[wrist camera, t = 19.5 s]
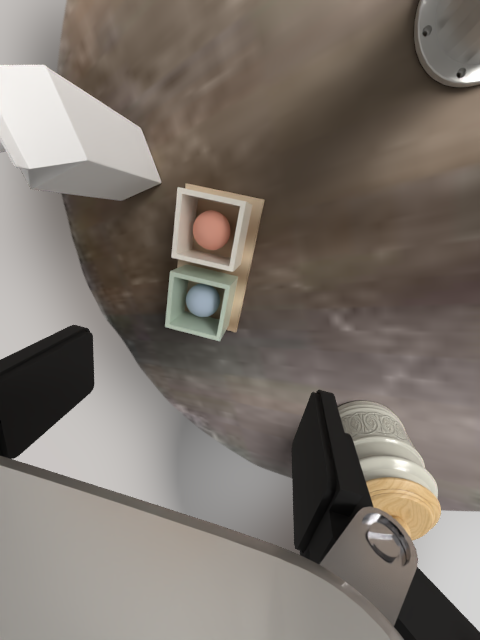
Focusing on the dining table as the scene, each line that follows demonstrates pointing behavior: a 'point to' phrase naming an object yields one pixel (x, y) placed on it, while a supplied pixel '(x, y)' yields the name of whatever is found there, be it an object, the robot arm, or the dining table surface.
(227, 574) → the robot arm
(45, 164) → the milk carton
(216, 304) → the slate ball
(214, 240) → the coral ball
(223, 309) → the sage cup
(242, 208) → the cream cup
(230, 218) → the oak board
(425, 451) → the dining table surface
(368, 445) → the jar
